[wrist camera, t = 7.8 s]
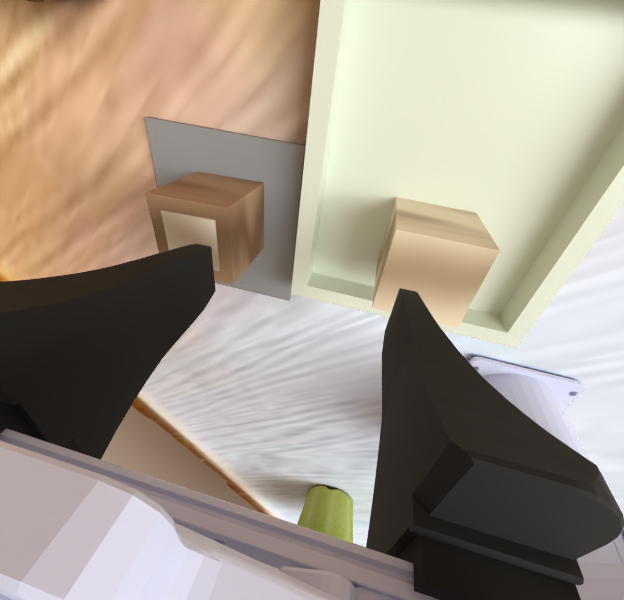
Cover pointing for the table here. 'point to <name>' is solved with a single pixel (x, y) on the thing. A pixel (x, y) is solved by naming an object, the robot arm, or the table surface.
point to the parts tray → (463, 142)
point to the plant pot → (328, 513)
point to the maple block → (434, 258)
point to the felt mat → (245, 165)
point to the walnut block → (211, 219)
